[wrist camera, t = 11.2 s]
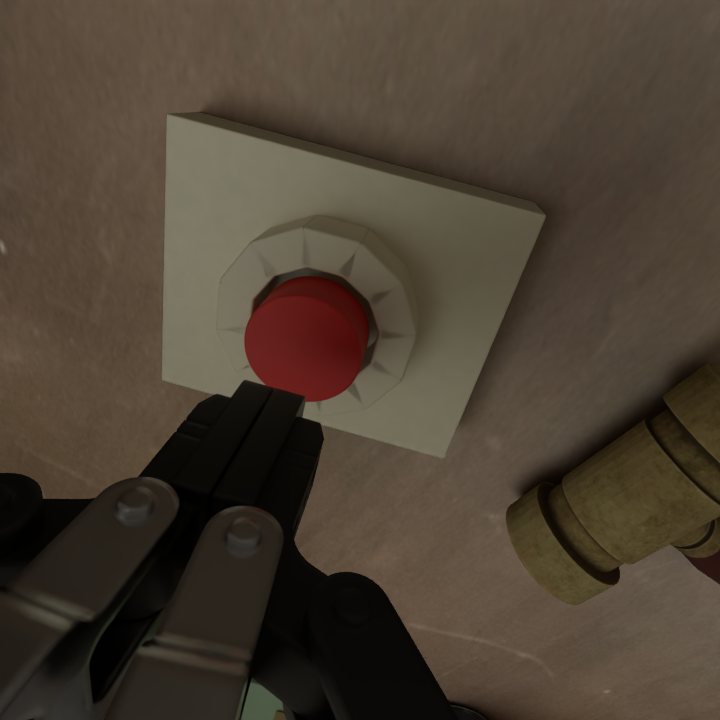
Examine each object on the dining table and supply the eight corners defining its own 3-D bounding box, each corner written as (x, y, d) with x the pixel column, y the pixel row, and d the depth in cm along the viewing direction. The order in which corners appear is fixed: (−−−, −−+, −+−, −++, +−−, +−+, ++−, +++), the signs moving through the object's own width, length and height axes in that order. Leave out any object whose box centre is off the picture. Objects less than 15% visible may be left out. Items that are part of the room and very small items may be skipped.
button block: (534, 201, 16) (560, 229, 13) (443, 427, 21) (444, 491, 18) (198, 111, 16) (132, 114, 13) (186, 355, 21) (136, 405, 18)
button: (381, 292, 15) (374, 314, 13) (355, 386, 16) (347, 415, 15) (269, 261, 15) (249, 280, 13) (256, 359, 17) (237, 385, 15)
